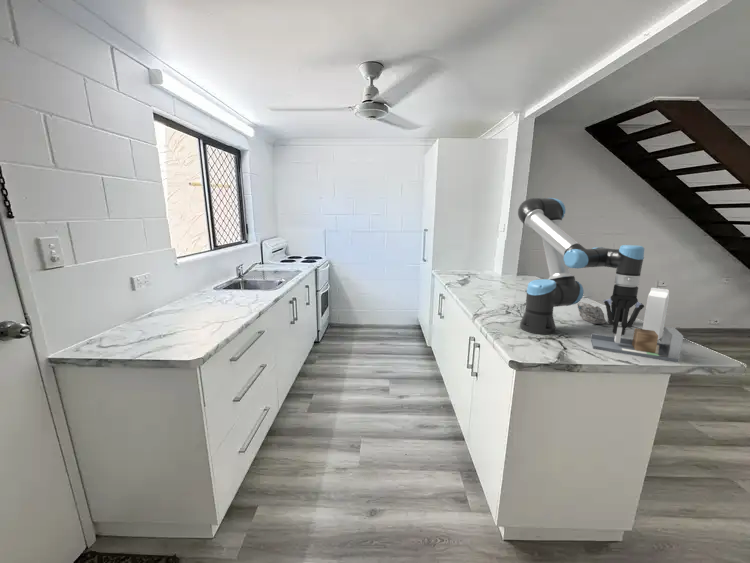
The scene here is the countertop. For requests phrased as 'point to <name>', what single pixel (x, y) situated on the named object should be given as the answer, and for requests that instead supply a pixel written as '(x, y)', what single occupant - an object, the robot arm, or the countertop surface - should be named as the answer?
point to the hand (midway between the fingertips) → (617, 341)
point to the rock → (591, 313)
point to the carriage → (645, 340)
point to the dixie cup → (613, 309)
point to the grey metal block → (671, 342)
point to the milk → (656, 310)
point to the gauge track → (625, 347)
